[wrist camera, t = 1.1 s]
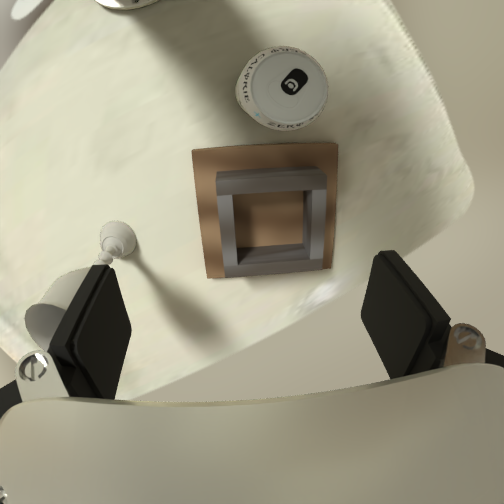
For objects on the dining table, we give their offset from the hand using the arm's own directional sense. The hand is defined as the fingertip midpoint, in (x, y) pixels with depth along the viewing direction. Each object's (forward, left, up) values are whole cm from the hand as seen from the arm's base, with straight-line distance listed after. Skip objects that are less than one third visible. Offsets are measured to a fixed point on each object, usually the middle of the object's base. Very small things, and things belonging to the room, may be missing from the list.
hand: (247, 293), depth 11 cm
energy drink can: (-7, +4, -26) cm, 27 cm away
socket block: (+7, +4, -26) cm, 27 cm away
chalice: (+9, -15, -26) cm, 31 cm away
